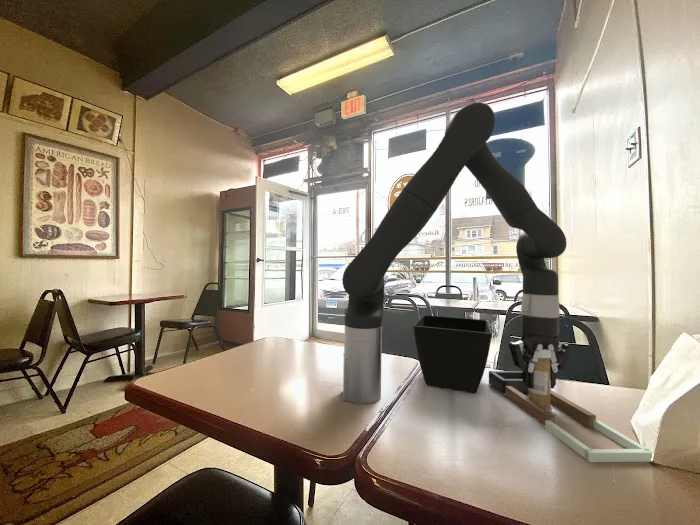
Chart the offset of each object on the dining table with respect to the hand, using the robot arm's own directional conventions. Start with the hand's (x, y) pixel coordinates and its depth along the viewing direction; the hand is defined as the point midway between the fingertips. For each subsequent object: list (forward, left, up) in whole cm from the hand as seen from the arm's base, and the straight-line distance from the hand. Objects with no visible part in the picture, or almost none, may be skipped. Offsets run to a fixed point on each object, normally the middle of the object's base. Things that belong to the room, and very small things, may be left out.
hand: (539, 386), depth 69 cm
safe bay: (0, -15, -4) cm, 15 cm away
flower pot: (-15, +14, -5) cm, 21 cm away
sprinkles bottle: (0, 0, -4) cm, 4 cm away
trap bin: (0, +10, -4) cm, 11 cm away
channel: (0, -2, -4) cm, 5 cm away
